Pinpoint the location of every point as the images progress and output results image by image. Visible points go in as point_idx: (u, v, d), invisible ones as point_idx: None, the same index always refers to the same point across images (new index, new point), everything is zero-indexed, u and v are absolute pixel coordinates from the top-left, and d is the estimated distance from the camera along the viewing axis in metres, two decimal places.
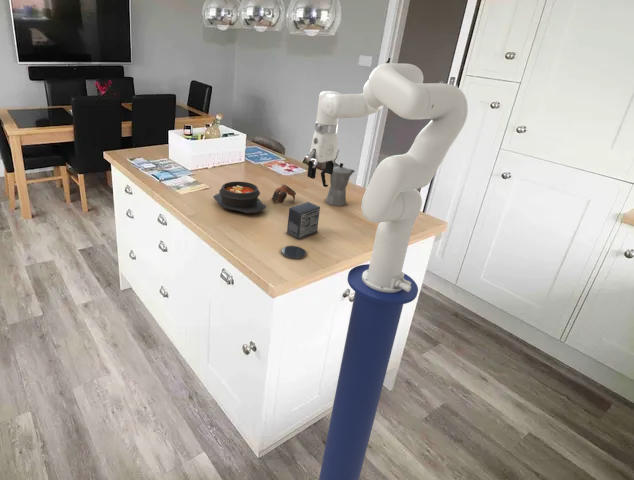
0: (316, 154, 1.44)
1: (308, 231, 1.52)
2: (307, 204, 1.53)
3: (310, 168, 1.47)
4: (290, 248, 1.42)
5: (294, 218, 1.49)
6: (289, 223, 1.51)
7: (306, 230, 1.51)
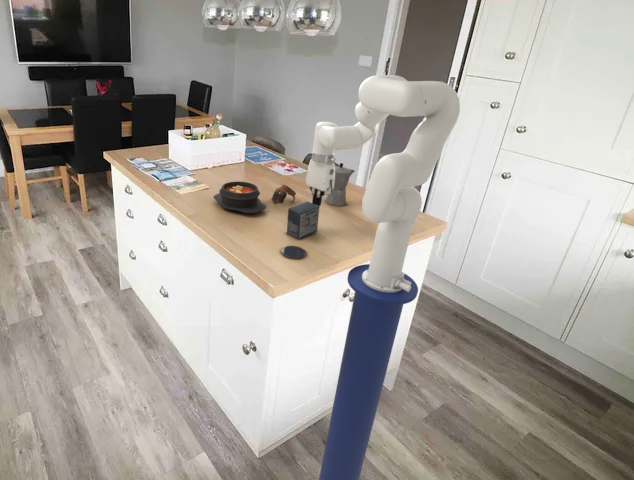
0: None
1: (308, 230, 1.52)
2: (306, 204, 1.53)
3: (320, 198, 1.52)
4: (290, 248, 1.42)
5: (293, 218, 1.49)
6: (289, 223, 1.51)
7: (306, 229, 1.51)
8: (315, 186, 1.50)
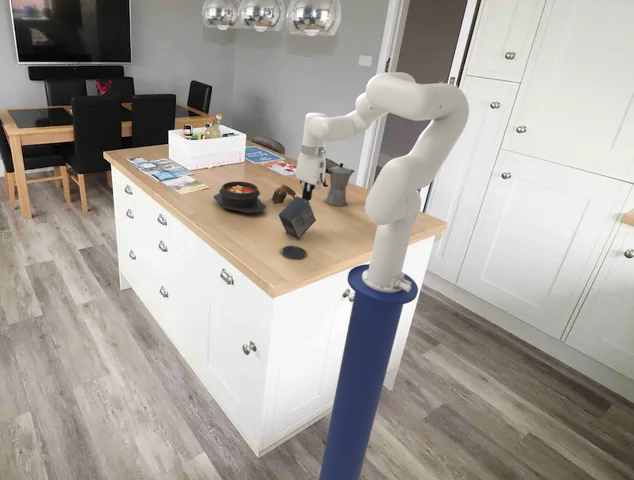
0: None
1: (305, 226, 1.50)
2: (295, 201, 1.48)
3: (310, 191, 1.47)
4: (290, 248, 1.42)
5: (286, 223, 1.47)
6: (284, 226, 1.50)
7: (303, 227, 1.49)
8: (305, 179, 1.45)
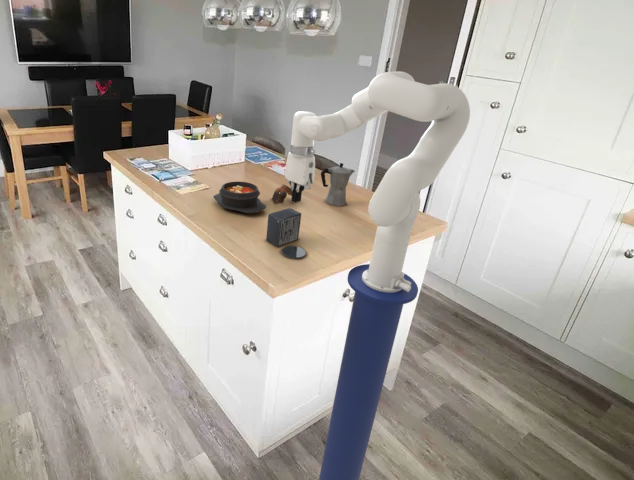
0: None
1: (295, 228, 1.46)
2: (271, 222, 1.43)
3: (300, 192, 1.44)
4: (290, 248, 1.42)
5: None
6: None
7: (294, 231, 1.46)
8: (294, 180, 1.41)
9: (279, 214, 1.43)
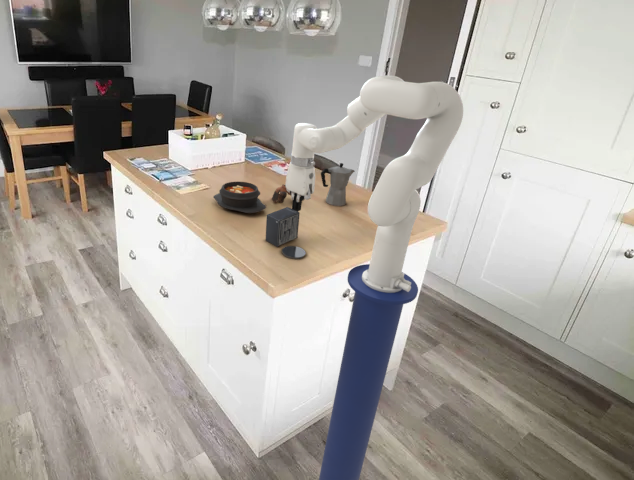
0: None
1: (294, 227, 1.46)
2: (269, 222, 1.43)
3: (300, 202, 1.46)
4: (290, 248, 1.42)
5: None
6: None
7: (293, 230, 1.46)
8: (294, 190, 1.44)
9: (278, 214, 1.43)
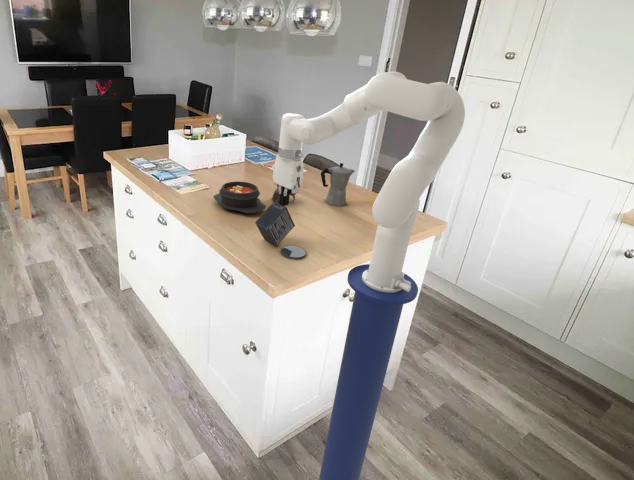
0: None
1: (287, 221, 1.42)
2: (260, 228, 1.41)
3: (287, 196, 1.41)
4: (290, 248, 1.42)
5: None
6: None
7: (287, 224, 1.43)
8: (282, 183, 1.38)
9: (265, 218, 1.39)
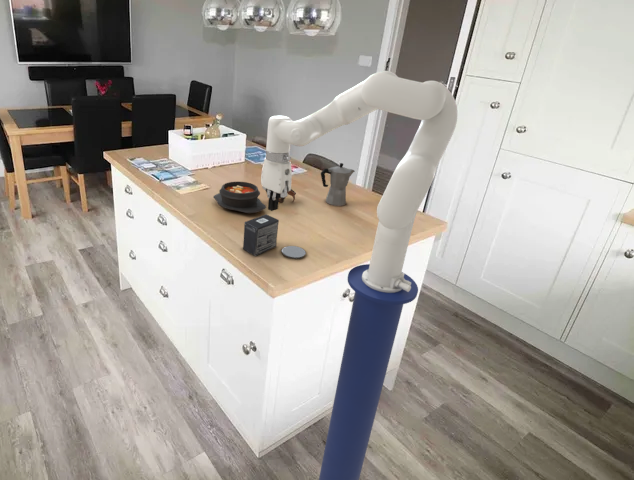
0: None
1: (268, 229, 1.37)
2: None
3: (276, 200, 1.37)
4: (290, 248, 1.42)
5: None
6: None
7: (270, 230, 1.38)
8: (270, 187, 1.35)
9: (248, 244, 1.38)
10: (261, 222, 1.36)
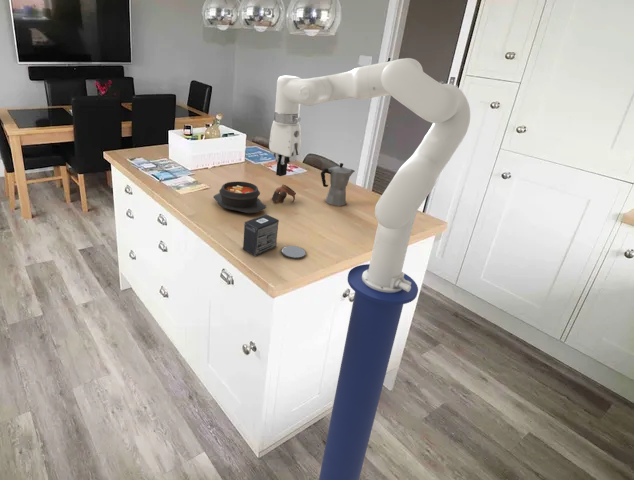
0: None
1: (268, 229, 1.37)
2: None
3: (285, 165, 1.34)
4: (290, 248, 1.42)
5: None
6: None
7: (270, 230, 1.38)
8: (279, 151, 1.31)
9: (248, 244, 1.38)
10: (261, 222, 1.36)
